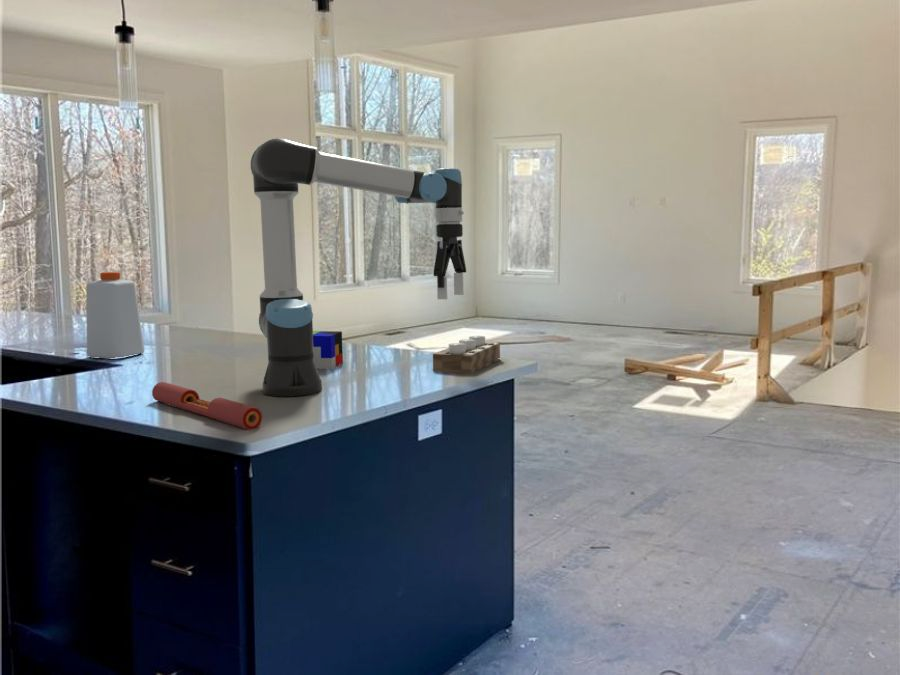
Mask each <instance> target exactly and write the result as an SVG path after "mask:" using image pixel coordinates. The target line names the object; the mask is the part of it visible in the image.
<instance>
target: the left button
mask: <svg viewBox="0 0 900 675" xmlns="http://www.w3.org/2000/svg"><path fill="white" fill-rule="evenodd" d="M448 348H449V354H455V355H463V354H465V353H466V344H464V343H459V342H455V343H454V342H453V343H449V344H448Z"/></svg>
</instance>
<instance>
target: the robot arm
mask: <svg viewBox="0 0 900 675" xmlns="http://www.w3.org/2000/svg"><path fill="white" fill-rule="evenodd" d="M250 171H251V174H252V176H253V194H254V195H255V196H256V197H257V198H258V199H259V200H260V202H259V203H260V218H261V219H260V220H261V233H262V234H261V236H262V238H261V240H262V258H263V273H264V274H263V276H264V277H263V280H264V289H263V291H262V292H261V293H260V294H259V309H260V311H259V317H258V324H259V325H258V326H259V328H260V331H261V333H262V334H263V335H264V337H265V338H266V340H267V357H268V358H267V359H268V360H267V361H268V364H267V366H266V370H265V373H264V378H263V381H262V394H264V395H267V396H272V397H298V396H299V397H300V396H306V395H307V396H308V395H312V394H317V393H319V392H320V391H322V389H323V386H322V385H323V384H322V380H321V376H320V373H319V371H318V370H319V369H317V368H316V365H315V362H314V350H313V331H314V328H313V318H314V313H313V308H312V305H311V303H309V302H308V301H306V300H304V294H303V292H302V291H300V289H299V288H298V282H297V281H298V280H297V279H298V278H297V264H296V263H297V260H296V236H295V235H296V234H295V216H294V214H295V213H294V199H295V197H296V196H297V195H298V194H299V184H301V185H309V186H311V185H312V184H314V183H318V184H325V185H330V186H337V187H342V188H348V189H354V190H360V191H364V192H371V193H376V194H382V195H389V196H394V200H395V201H396V202H397V203H400V204H424V203H426V204H427V203H432V204H433V203H435V223H438V224H436V228H435V229H436V237H437V238H441V240H437V242H436V246H437V248H436V254H435V260H434V267H433V274H432V275H433V277H436V286H437V288H436V290H437V296H436V297H437V300H448V276H447V275H446V274H447V271H448V267H449V263H450V260H451V263H452V267H453V269H454V272H453V290H454V291H453V293H454V296H464V292H465V291H464V273H467V266H466V261H465V260H466V259H465V256H464V250H463V241H462V239H458V238H461V237H463V234H464V233H463V229H464V228H463V225H462V224H461V222H463V215H464V211H463V203H462V202H463V199H462V198H463V193H462V192H463V184H462V183H463V180H462V172H461V170H460V169H458V168H454V167H453V168H448V167H447V168H437V169H435V171H434V172H432V171H430V172H424V171H419V170H414V169H408V168H404V167H398V166H393V165H389V164H388V165H387V164H385V163H384V164H382V163H377V162H373V161H368V160H362V159H357V158H353V157H346V156H340V155H337V154H331V153H330V154H329V153H325V152H321V151H319V150H318V147H317V146H312V145H307V144H302V143H298V142H296V141H291V140H289V139H285V138H278V137H277V138H271V139H270V140H269V139H268V140H267V141H265V142H263V143H262V144H260V145H259V146H257V148H256V149H254V152H253V154H252V156H251V159H250Z"/></svg>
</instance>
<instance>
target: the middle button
mask: <svg viewBox="0 0 900 675" xmlns="http://www.w3.org/2000/svg"><path fill="white" fill-rule="evenodd" d="M458 343H464V344H466V350H469V351H472V350H474V349H476V340H473V339H469V338H467V339H465V338H464V339H460V340H459V341H458Z"/></svg>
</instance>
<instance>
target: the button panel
mask: <svg viewBox="0 0 900 675" xmlns="http://www.w3.org/2000/svg"><path fill="white" fill-rule="evenodd" d="M500 345H501V344H500V343H497V342H489V343H488V342H487V343H486V342H485V345H484V346H482V347H478V346H476V349H474V350H472V351H469V350H466V353H465V354H463V355H455V354H449V347H447V348H444V349H442V350H439V351H436V352H434V353H432V371H434V372H445V373H447V372H448V373H458V374H459V373H461V374H464V373H465V374H473V373H475V372H477V371H480V370H481V369H483V368H485V367H487V366H490V365H492V364H494V363H495V362H494V361H496V362H498V361H500V359H501V348H500V347H501V346H500ZM498 358H500V359H498ZM493 362H494V363H493Z"/></svg>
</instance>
